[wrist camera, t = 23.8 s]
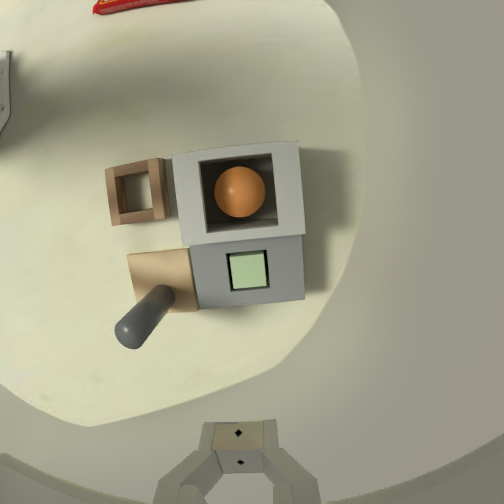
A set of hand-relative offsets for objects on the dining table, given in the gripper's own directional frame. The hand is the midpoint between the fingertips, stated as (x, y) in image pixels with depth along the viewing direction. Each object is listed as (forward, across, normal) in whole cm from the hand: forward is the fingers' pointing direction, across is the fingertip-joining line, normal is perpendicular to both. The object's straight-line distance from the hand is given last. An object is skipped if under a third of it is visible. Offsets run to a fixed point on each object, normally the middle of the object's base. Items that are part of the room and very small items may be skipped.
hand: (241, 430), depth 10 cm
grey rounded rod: (+24, +11, +3) cm, 27 cm away
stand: (+25, +12, -10) cm, 30 cm away
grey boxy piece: (+25, 0, -4) cm, 25 cm away
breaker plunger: (+24, 0, -9) cm, 26 cm away
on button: (+24, 0, 0) cm, 24 cm away
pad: (+25, +11, +2) cm, 27 cm away
